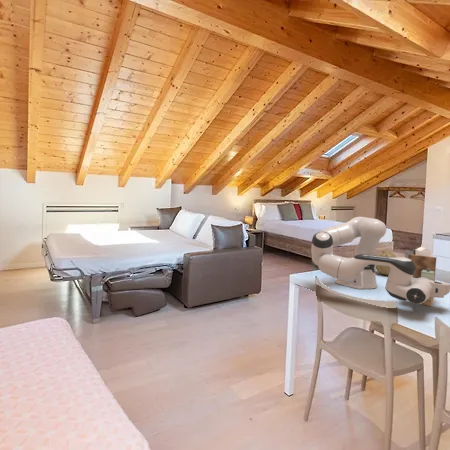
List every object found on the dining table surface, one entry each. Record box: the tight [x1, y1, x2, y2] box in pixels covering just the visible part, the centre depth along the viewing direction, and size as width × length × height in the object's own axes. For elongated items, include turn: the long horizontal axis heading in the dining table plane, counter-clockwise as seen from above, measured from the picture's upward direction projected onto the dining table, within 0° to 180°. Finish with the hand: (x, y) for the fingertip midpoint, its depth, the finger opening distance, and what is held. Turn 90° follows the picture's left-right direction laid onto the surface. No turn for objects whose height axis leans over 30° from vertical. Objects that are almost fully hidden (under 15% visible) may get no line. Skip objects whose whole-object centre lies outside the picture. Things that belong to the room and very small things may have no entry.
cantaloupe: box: [376, 250, 398, 276], centre depth 218 cm, size 15×15×15 cm
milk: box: [415, 243, 432, 257], centre depth 203 cm, size 6×6×22 cm
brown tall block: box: [408, 254, 437, 307], centre depth 172 cm, size 12×16×22 cm
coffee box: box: [404, 247, 417, 258], centre depth 221 cm, size 9×6×16 cm
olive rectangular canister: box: [421, 268, 436, 281], centre depth 168 cm, size 5×5×14 cm
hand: (427, 280), depth 169 cm, fingers closed on olive rectangular canister, 5 cm apart
